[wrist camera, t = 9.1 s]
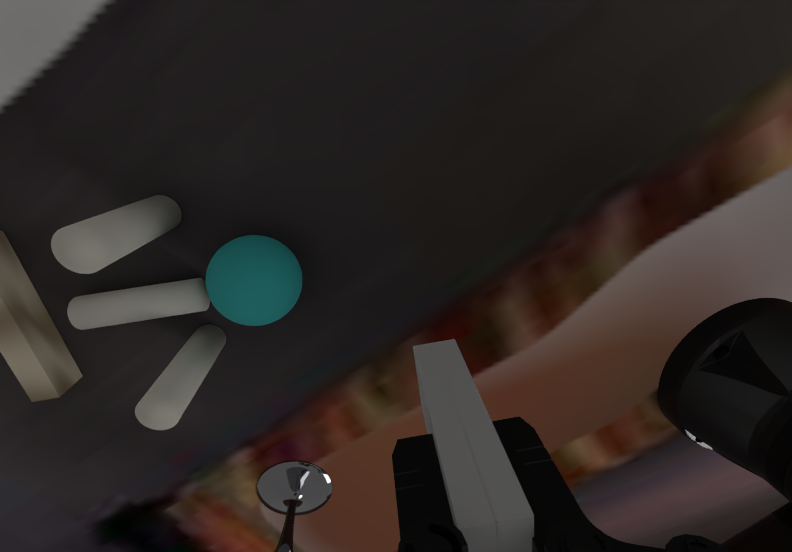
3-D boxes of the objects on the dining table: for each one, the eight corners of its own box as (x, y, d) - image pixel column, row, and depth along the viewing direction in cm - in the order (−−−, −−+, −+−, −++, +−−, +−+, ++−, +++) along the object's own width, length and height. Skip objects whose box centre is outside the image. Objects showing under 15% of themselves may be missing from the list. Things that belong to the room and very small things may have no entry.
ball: (208, 328, 27) (282, 293, 30) (250, 354, 23) (328, 309, 26) (176, 248, 24) (260, 220, 28) (216, 261, 20) (308, 227, 24)
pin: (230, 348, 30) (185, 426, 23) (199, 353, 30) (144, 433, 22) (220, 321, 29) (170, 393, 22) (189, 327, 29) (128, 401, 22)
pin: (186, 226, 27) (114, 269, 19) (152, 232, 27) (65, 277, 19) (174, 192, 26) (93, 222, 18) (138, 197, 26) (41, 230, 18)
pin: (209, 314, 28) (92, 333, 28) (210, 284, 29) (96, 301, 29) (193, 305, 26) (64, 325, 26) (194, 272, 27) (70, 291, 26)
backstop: (82, 376, 30) (59, 397, 28) (57, 380, 30) (31, 402, 28) (2, 230, 26) (-33, 240, 23) (-28, 234, 25) (-67, 245, 23)
